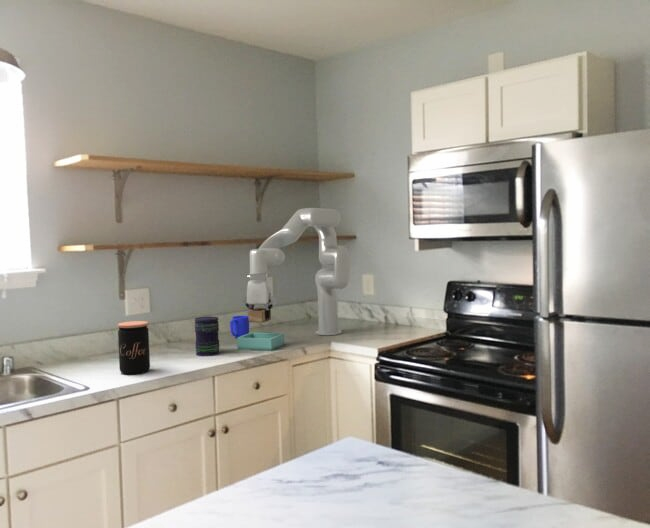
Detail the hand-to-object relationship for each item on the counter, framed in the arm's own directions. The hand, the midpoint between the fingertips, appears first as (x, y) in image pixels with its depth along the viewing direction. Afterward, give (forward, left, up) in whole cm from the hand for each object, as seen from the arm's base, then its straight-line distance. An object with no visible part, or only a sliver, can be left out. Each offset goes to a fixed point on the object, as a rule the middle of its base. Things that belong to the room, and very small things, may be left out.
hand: (259, 318), depth 264 cm
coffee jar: (+53, -26, -13) cm, 60 cm away
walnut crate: (0, 0, -1) cm, 1 cm away
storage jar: (+18, -16, -13) cm, 27 cm away
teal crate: (0, 0, -13) cm, 13 cm away
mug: (-18, -20, -13) cm, 30 cm away
